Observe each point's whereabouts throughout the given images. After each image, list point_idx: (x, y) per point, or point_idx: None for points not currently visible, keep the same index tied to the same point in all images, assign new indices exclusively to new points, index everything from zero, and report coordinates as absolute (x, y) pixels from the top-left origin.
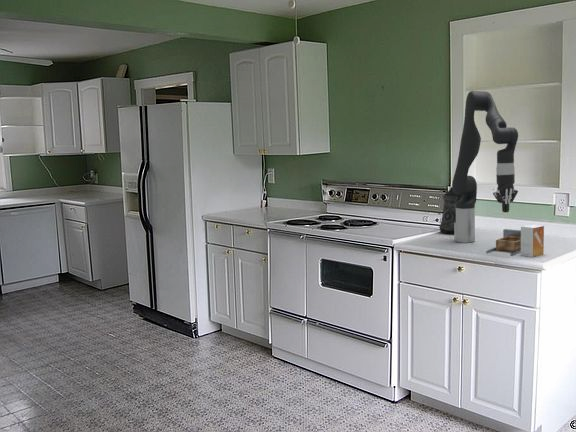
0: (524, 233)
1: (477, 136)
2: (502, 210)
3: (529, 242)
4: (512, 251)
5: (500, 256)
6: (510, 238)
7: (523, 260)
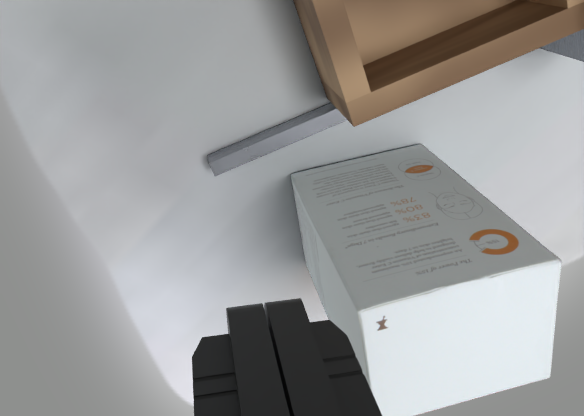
0: (340, 306)
1: None
2: (197, 351)
3: (326, 302)
4: (317, 65)
5: (128, 123)
6: None
7: (183, 303)
